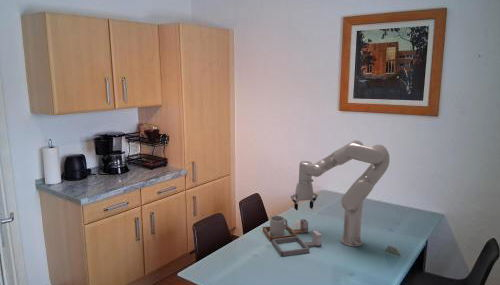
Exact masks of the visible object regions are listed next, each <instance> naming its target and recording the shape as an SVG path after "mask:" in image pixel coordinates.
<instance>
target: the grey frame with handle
mask: <svg viewBox="0 0 500 285" xmlns="http://www.w3.org/2000/svg"><path fill="white" fill-rule="evenodd" d="M293 242H297V243H298V244H299V245H300V246H301V247H302V248H295V249H289V250H282V248H281V247H280V245H279V244H283V243H284V244H286V243H287V244H288V243H293ZM271 244H272V245H273V247H274V249H275V250H276V251H277V253H278V254H279V255H280V257H288V256H295V255H302V254H303V255H304V254H310V248H316V247H321V246H322V234H321V233H320V232H319V231H318V230H312V241H306V242H305V241H303V239H301V237H300V236H298V235H297V236H296V237H288V238H280V239H272V242H271Z"/></svg>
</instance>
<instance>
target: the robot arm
mask: <svg viewBox="0 0 500 285" xmlns="http://www.w3.org/2000/svg"><path fill="white" fill-rule="evenodd" d="M351 160H354V161H355V160H356V161H359V162H363V163H367V164H370V165H369V166H368V167H367V168H366V170H365V171H364V172H363V173H362V174H361V175H360V176H359V177H358V178H357V179H356V180H355V181H354V182H353V183H352V184H351V186H350V187H349V189H347V190H346V192H345V193H344V194H343V196H342V197H341V200H340V203H341V206H342V208H343V209H344V214H343V215H344V216H343V236H341V237H340V239H339V240H340V243H341V244H343V245H345V246H348V247H353V248H354V247H355V248H356V247H360V246H362V245H363V244H364V240H363V239H362V237H361V233H362V231H361V230H362V228H361V226H362V215H363V204H364V201H365V199H366V198H367V197H368V196H369V195H370V193H371V192H372V191H373V189H374V188H375V186H376V185H377V183H378V182H379V180H381V178H382V177H383V175H384V174H386V171H387V170H388V168H389V165H390V154H389V151H388V149H387V148H386V146H385V145H382V144H375V145H373V146H372V147H371V146H367V145H364V144H363V142H362V141H360V140H353V141H351V142H348V143H347V144H345V145H344V146H342V147H340V148H338V149H336V150H335V151H332V152H331V153H330V154H329V155H328V156H326V157H324V158H322V159H321V160H319V161H317V162H315V163H312V161H309V160H303V161H300V162H299V170H298V183H296V188H295V193H294V194H293V195H291V196H290V199H291V201H292V202H293V203H294V205H293V207H294V210H296V211H298V210H299V204H298V203H299V202H300V201H301V202H303V201H309V209H311V210H313V208H314V203H315V201H316V200H317V198H318V196H319V195H318V194H317V193H315V192H314V187H313V182H314V179H312V177H315V178H319V177H321V176H322V175H323V174H325V173H326V172H328V171H330V170H331V169H334V168H335V167H338V166H342V165H345V164H346V163H348V162H350V161H351Z"/></svg>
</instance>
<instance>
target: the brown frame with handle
mask: <svg viewBox="0 0 500 285" xmlns="http://www.w3.org/2000/svg"><path fill="white" fill-rule="evenodd" d="M299 225H300V226H299V228H297V229H292V227H291V226H289V225H288V224H287V228H286V229H285V230H286V231H287V232H288V233H289V234H284V236H276V237H272V236H271V235H270V225H268V226H263V227H262V232H263V234H264V235H265V236H266V238H267V239H268V240H269V242H270V243H272V239H280V238H288V237H296V236H298V235H300V234H301V235H302V234H307V233H308V234H309V222H308V221H307V220H306V218H300V223H299ZM284 227H285V224H284Z"/></svg>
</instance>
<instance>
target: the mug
mask: <svg viewBox="0 0 500 285" xmlns="http://www.w3.org/2000/svg"><path fill="white" fill-rule="evenodd" d="M269 221H270V222H269V226H270V231H269V234H270V235H271V236H272V237H276V236H285V230H287V229H286V228H287V225H288V220H287V218H285V217H283V216H281V215H273V216H271V217H270V219H269ZM284 225H285V227H284Z"/></svg>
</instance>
